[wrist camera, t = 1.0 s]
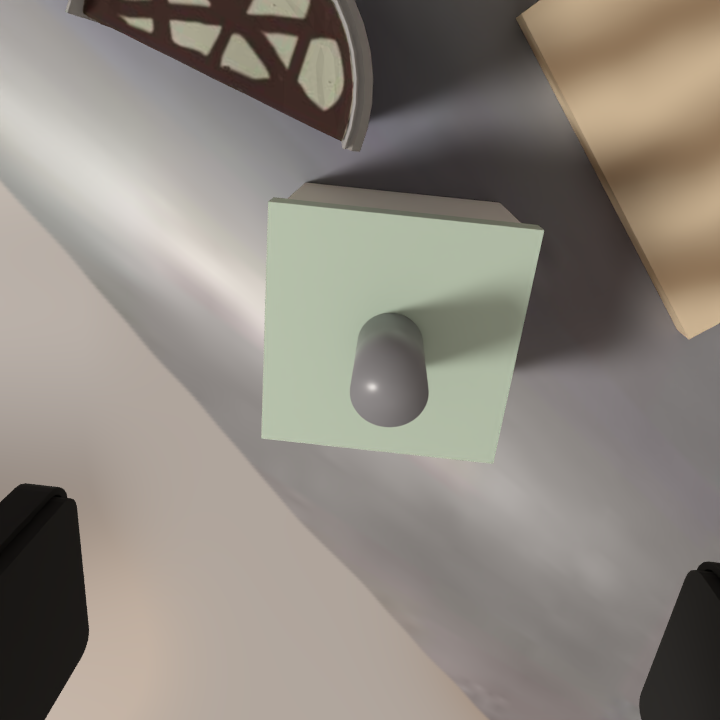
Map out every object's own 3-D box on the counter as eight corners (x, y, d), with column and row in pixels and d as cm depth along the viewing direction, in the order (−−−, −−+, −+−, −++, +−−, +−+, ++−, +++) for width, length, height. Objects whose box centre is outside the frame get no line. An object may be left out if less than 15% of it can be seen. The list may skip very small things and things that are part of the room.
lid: (278, 193, 27) (239, 223, 20) (531, 220, 27) (578, 259, 20) (270, 414, 32) (236, 500, 25) (486, 438, 31) (511, 530, 25)
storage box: (305, 182, 33) (280, 205, 26) (499, 202, 33) (529, 230, 26) (296, 359, 38) (272, 421, 30) (467, 378, 38) (484, 445, 30)
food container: (419, 23, 30) (430, -13, 21) (367, 140, 32) (356, 155, 23) (190, -99, 28) (91, -195, 19) (153, 34, 31) (51, 4, 21)
